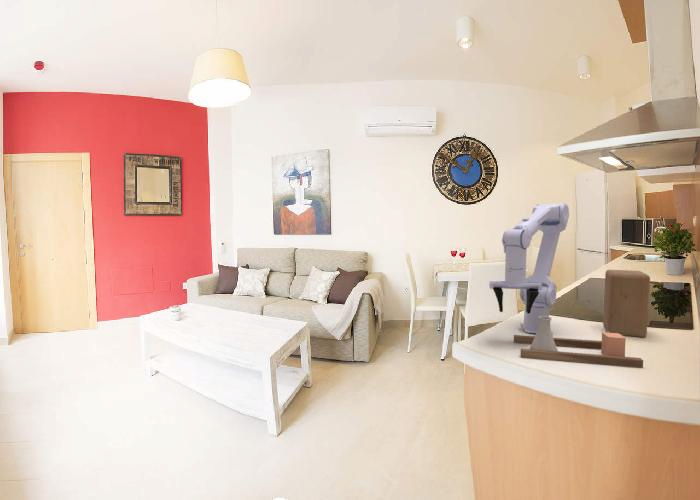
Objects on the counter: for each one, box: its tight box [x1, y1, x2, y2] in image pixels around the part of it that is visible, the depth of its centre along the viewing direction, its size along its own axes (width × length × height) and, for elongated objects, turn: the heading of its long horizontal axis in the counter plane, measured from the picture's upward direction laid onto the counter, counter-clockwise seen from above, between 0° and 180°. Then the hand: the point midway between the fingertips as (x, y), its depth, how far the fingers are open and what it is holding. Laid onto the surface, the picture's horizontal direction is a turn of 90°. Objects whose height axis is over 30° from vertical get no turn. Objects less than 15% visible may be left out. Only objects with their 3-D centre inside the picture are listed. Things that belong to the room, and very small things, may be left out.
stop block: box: [600, 331, 627, 357], centre depth 95 cm, size 4×4×6 cm
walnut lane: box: [513, 334, 644, 369], centre depth 97 cm, size 13×28×2 cm, turn 73°
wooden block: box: [602, 269, 651, 338], centre depth 113 cm, size 10×10×20 cm
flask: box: [529, 316, 558, 351], centre depth 99 cm, size 7×7×10 cm
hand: (514, 312), depth 106 cm, fingers open, 7 cm apart
